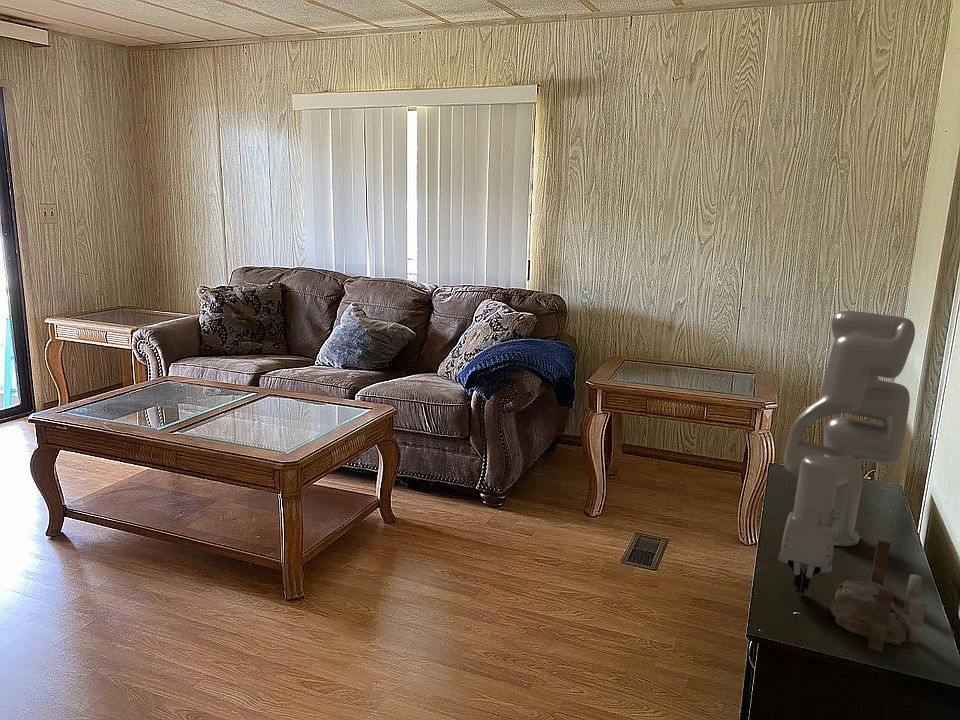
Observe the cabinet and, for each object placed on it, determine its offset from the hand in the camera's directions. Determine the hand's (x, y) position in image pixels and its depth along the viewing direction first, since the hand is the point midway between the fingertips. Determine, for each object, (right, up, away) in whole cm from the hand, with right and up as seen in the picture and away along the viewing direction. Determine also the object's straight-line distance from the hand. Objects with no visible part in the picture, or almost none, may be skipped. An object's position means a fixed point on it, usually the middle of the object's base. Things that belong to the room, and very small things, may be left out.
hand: (800, 590), depth 163 cm
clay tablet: (+12, -4, -6) cm, 13 cm away
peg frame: (+16, -4, -8) cm, 18 cm away
